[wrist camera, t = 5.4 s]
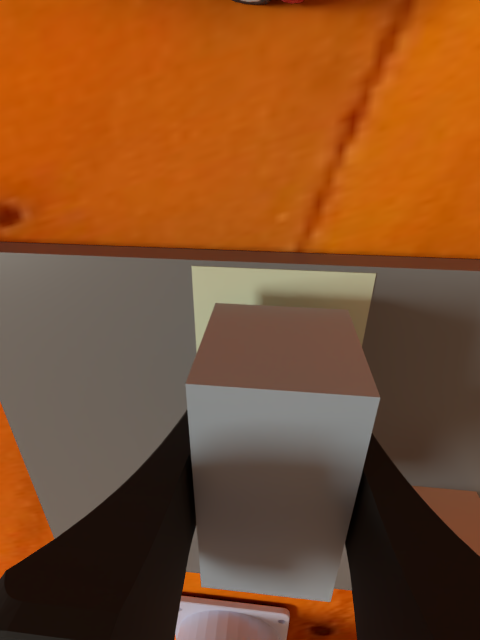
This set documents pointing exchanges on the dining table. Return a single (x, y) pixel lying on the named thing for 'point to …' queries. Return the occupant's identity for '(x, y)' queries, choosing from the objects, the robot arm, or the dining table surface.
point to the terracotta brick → (456, 512)
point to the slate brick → (277, 446)
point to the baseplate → (183, 343)
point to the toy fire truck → (265, 1)
